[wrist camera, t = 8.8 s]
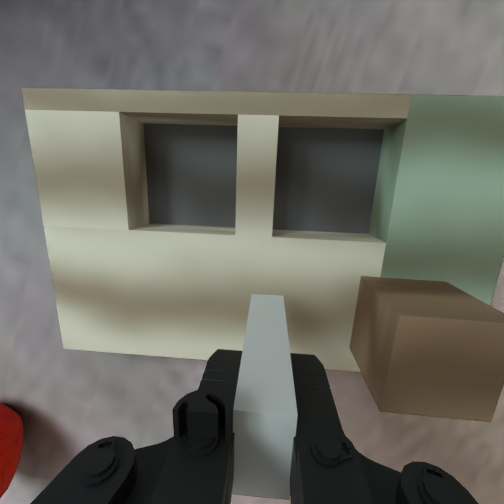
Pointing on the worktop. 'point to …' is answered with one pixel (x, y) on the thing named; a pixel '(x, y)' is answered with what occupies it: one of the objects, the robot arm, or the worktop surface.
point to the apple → (9, 445)
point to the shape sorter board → (257, 209)
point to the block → (428, 348)
